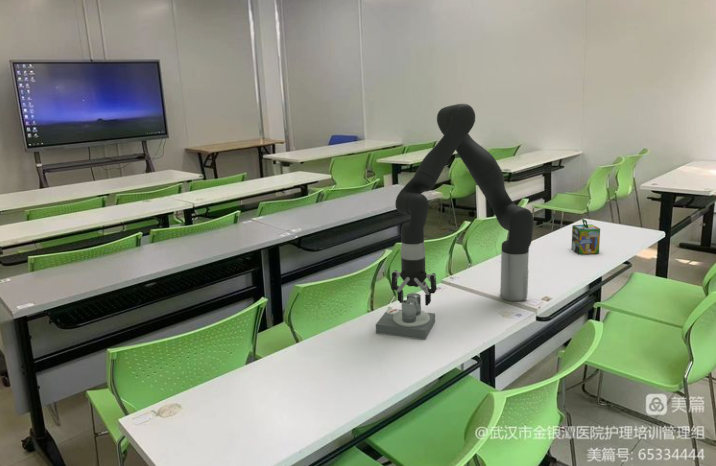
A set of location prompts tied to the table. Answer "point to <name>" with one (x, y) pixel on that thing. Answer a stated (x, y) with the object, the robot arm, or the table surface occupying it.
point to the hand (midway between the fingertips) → (414, 303)
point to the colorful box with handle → (585, 238)
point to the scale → (405, 324)
